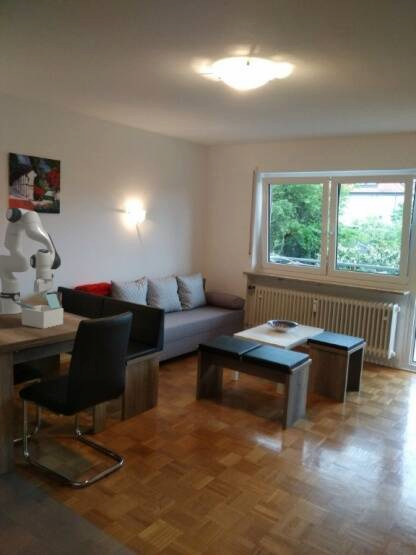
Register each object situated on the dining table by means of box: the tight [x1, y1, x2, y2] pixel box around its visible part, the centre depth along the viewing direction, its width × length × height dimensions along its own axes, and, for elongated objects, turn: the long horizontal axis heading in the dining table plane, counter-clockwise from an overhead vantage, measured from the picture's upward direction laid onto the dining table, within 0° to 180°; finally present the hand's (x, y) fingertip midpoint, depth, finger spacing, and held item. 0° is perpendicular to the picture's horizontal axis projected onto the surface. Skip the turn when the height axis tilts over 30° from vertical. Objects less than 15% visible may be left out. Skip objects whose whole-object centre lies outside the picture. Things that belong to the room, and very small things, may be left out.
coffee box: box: [46, 291, 63, 308], centre depth 299 cm, size 9×6×16 cm
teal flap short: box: [45, 294, 60, 309], centre depth 273 cm, size 1×8×9 cm, turn 154°
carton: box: [21, 304, 64, 330], centre depth 275 cm, size 19×17×10 cm
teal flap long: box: [14, 301, 36, 310], centre depth 264 cm, size 10×1×9 cm
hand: (43, 297), depth 276 cm, fingers closed
